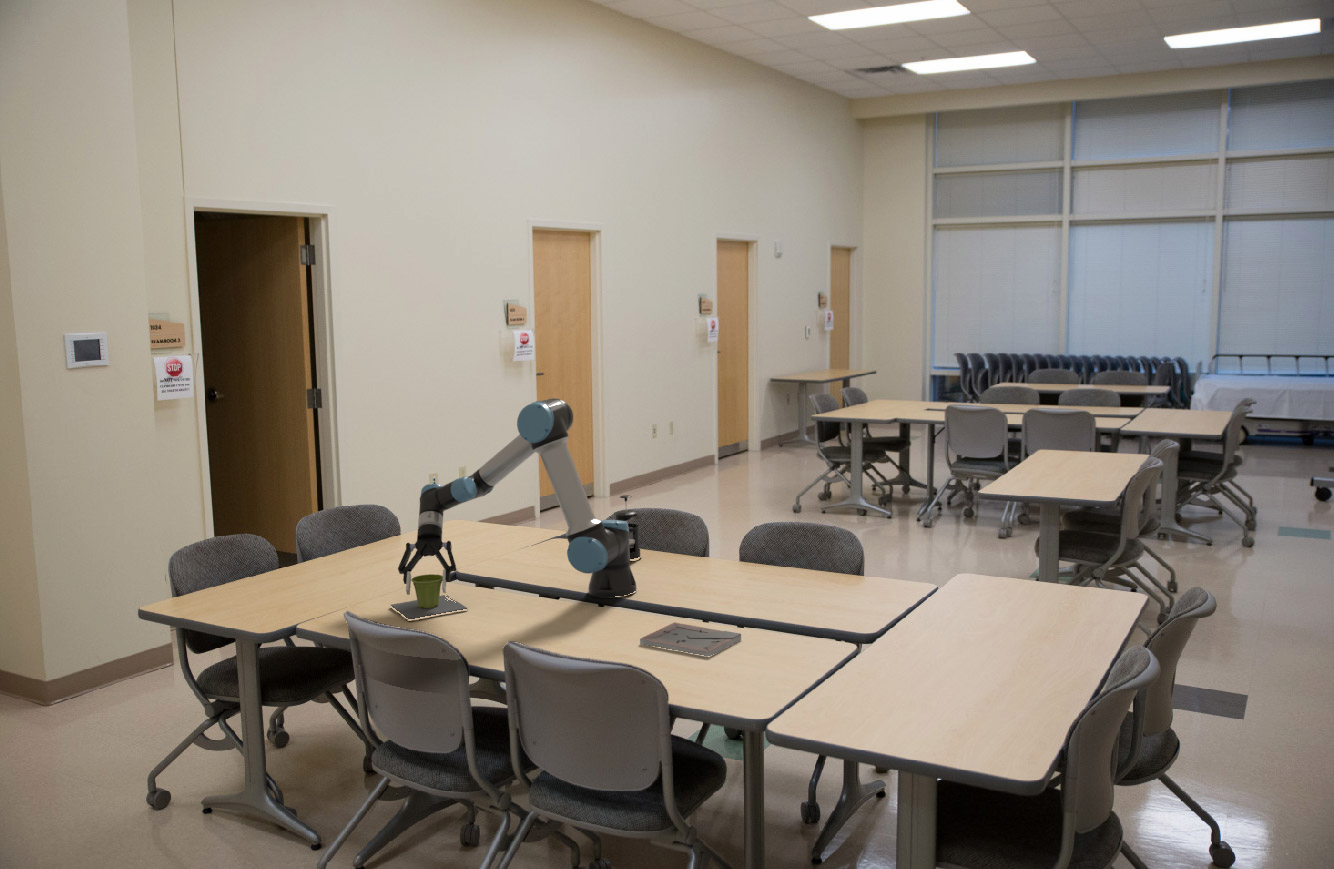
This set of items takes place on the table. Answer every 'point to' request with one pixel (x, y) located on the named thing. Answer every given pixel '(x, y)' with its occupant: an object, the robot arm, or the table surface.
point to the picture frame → (691, 639)
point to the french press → (626, 516)
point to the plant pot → (427, 590)
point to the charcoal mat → (414, 611)
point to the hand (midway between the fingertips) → (425, 591)
